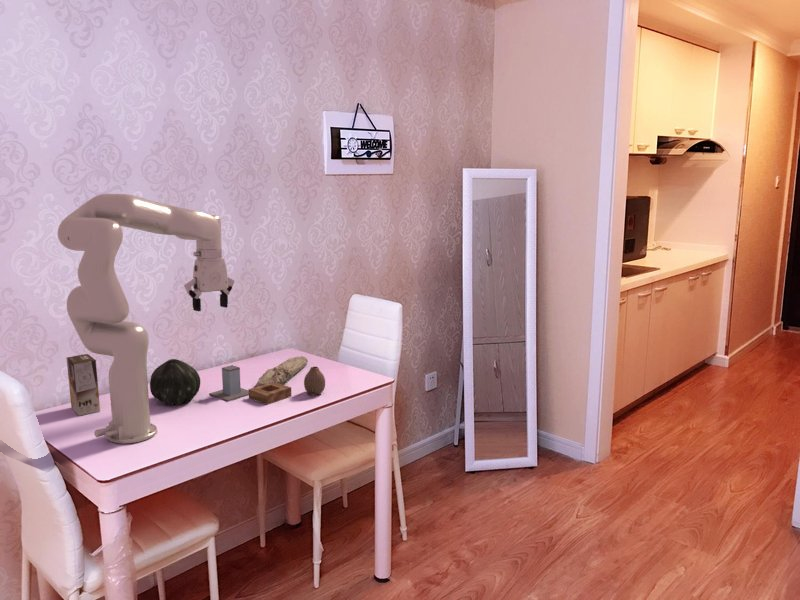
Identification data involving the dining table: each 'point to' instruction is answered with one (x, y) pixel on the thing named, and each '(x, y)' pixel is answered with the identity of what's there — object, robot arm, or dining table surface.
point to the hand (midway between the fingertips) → (210, 308)
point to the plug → (231, 380)
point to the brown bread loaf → (283, 371)
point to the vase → (314, 381)
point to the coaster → (227, 397)
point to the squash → (174, 382)
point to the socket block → (269, 392)
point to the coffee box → (83, 384)
